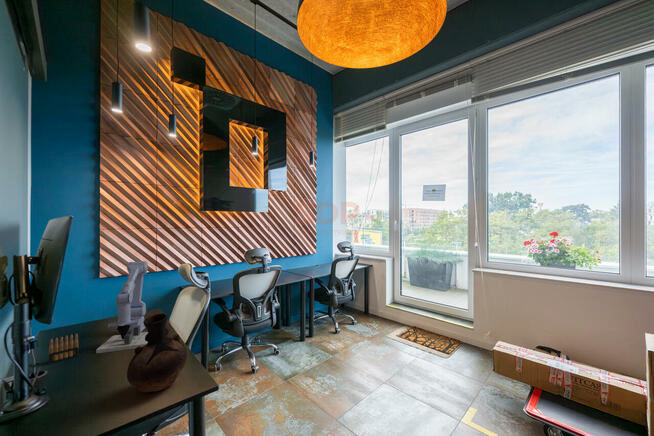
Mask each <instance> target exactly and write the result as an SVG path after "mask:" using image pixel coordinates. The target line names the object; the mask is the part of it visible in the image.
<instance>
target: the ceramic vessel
mask: <svg viewBox="0 0 654 436" xmlns="http://www.w3.org/2000/svg"><path fill="white" fill-rule="evenodd" d="M167 320H168V314H167V313H164V312H161V313H154V314H151V315H149V316H147V317H146V318H144V321H143V323H144V327H146V328H145V329H146V330H147V331H146V332H148V333H147V335H146V336H145V341H147V342H148V343H147V344H145V345H144V346H143V347H141V346H139V347H137V348H136V349H134V355H133V357H132V358H131V360H130V361H129V363H128V366H127V370H126V371H127V372H126V378H127V381H128V382H129V384H130V386H131V387H132V388H133V389H134V390H136V391H138V392H141V393H153V392H158V391H162V390H163V389H166V388H168V387H169V386H171V385H172V384H173V383H174V382H176V380H177V379H178V378H179V376H180V375H181V373H182V372H183V371H184V368H185V366H186V364H187V359H188V353H187V348H186V346H185V345H184V343H183V342H182V341H181V340H180V339H181V337H180V336H179V334H178V333H175V334H174V335H173V336H172V337H169V336H168V334H169V331H170V330H169V329H168V327H167V322H168V321H167Z"/></svg>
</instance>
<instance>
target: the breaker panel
mask: <svg viewBox="0 0 654 436" xmlns="http://www.w3.org/2000/svg"><path fill="white" fill-rule="evenodd" d="M147 333H148V331H144V332H143V331H142V332H141V333H140V334H139V335H134V337H133V338H132V342H131V343H130V344H124V339H122V338H121V335H120V334H118V335H117V334H116V335H112V336H111V337H110V338H108V339H107V340H106V341H105V342H104V343H102V344H101V345H100V346H99V347H98V348H97V349H96V351H95V352H96V353H95V354H103V353H111V352H121V351H125V350H126V351H127V350H135V349H136V348H137V347H139V346H141V347H143V346H144V345H145V344H147V343H148V342H147V341H145V336H146V335H147Z"/></svg>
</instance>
